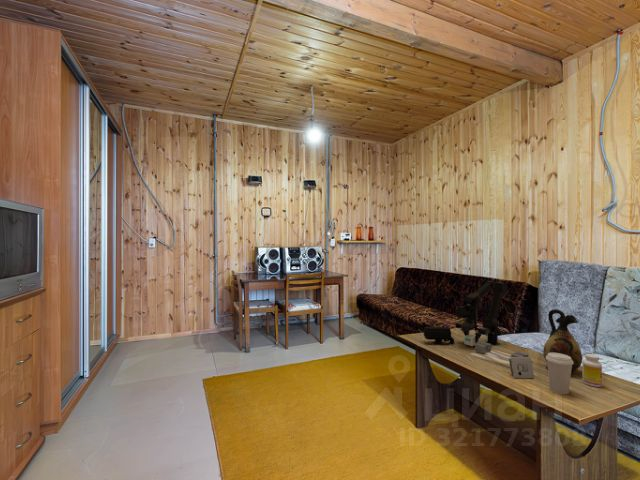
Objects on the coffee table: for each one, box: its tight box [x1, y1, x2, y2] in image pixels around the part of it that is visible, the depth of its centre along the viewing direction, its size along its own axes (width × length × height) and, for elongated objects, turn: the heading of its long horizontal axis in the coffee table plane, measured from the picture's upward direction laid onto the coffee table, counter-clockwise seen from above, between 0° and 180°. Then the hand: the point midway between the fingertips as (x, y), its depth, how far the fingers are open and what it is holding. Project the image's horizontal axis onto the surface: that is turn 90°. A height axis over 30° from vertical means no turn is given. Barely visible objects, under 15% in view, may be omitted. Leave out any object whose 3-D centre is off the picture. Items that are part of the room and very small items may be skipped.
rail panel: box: [469, 341, 533, 369], centre depth 169 cm, size 18×24×6 cm
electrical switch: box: [509, 356, 535, 379], centre depth 148 cm, size 9×5×9 cm, turn 90°
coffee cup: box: [545, 353, 574, 395], centre depth 133 cm, size 10×10×15 cm
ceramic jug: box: [542, 308, 583, 375], centre depth 155 cm, size 17×15×30 cm
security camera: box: [422, 326, 456, 345], centre depth 194 cm, size 7×18×10 cm, turn 89°
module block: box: [463, 333, 481, 347], centre depth 190 cm, size 8×5×5 cm, turn 120°
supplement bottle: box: [581, 353, 603, 388], centre depth 140 cm, size 7×7×13 cm
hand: (471, 342), depth 190 cm, fingers closed on module block, 5 cm apart
